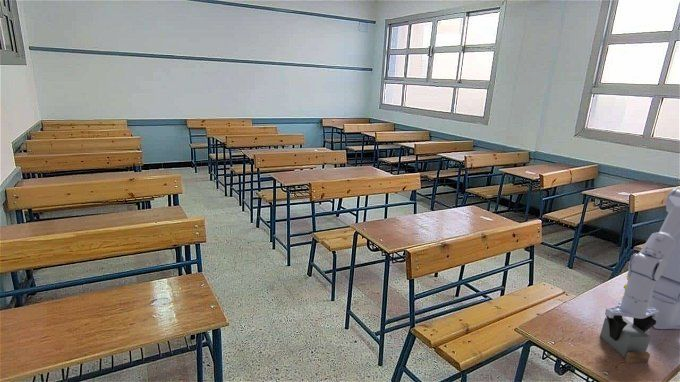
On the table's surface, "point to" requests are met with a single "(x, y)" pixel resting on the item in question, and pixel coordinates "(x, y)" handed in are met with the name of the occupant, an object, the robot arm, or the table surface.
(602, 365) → the table surface
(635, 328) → the gray block
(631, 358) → the brown block
